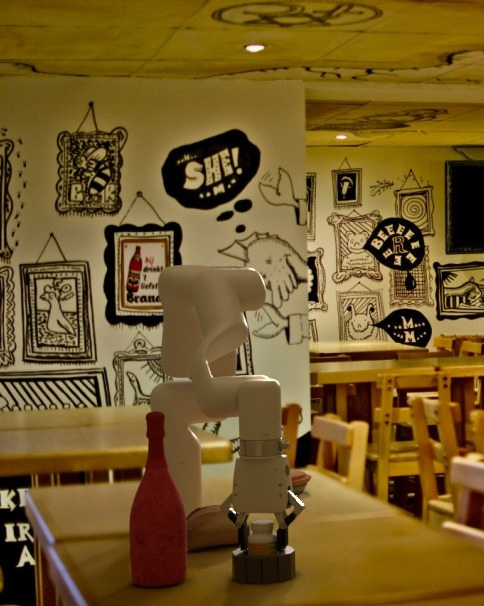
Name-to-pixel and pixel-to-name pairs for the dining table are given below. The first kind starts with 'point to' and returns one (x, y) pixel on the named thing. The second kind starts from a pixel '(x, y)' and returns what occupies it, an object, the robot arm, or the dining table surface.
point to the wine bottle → (157, 518)
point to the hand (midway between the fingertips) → (263, 548)
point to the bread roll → (210, 528)
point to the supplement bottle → (262, 538)
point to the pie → (299, 481)
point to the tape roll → (263, 567)
